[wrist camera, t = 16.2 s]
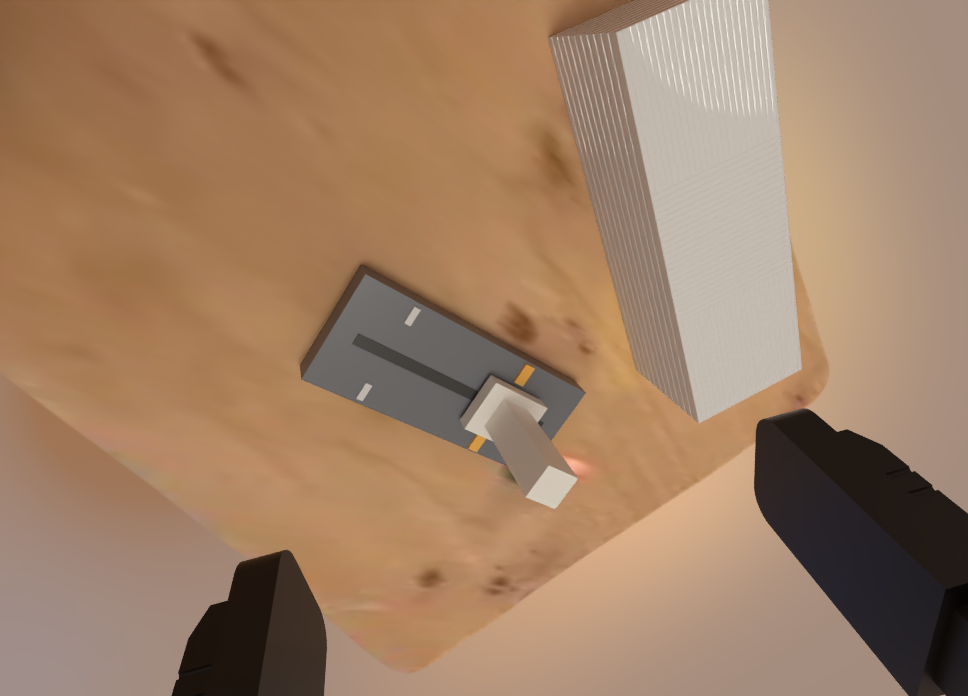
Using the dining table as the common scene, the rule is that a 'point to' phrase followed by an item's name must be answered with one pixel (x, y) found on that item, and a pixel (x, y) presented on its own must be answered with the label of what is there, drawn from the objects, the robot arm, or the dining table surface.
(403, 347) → the fader console
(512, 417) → the fader tab
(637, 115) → the stack of papers
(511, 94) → the dining table surface
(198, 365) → the dining table surface
